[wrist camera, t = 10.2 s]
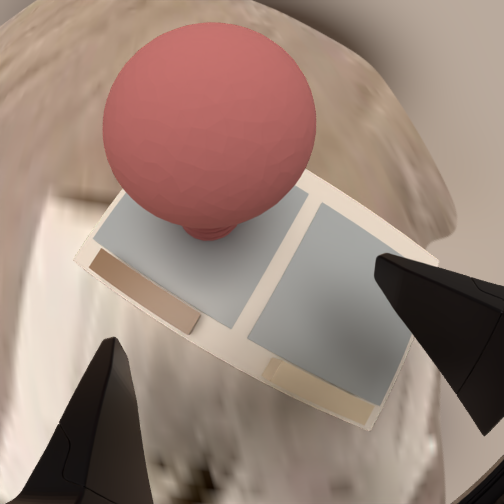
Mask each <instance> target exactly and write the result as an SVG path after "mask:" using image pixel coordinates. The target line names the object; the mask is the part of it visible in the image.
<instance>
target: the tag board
mask: <svg viewBox="0 0 504 504" xmlns="http://www.w3.org/2000/svg"><path fill="white" fill-rule="evenodd" d="M383 253H390V254H394V255H397V256H401V257H404V258H408V259H411V260H415V261H418V262H422V263H425V264H429V265H432V266H436V267H438V264H439V260H437V259H436V258H435V257H433V256H432V255H431V254H430V253H428V252H427V251H426V250H424V249H423V248H422V247H420V246H419V245H418V244H416V243H415V242H414V241H412V240H411V239H410V238H408V237H407V236H406V235H404V234H403V233H402V232H400V231H399V230H397V229H396V228H395V227H393V226H392V225H390V224H389V223H388V222H386V221H385V220H383V219H382V218H381V217H379V216H378V215H376V214H375V213H373V212H372V211H370V210H369V209H367V208H366V207H365V206H363V205H362V204H360V203H359V202H357V201H356V200H354V199H353V198H351V197H350V196H348V195H346V194H345V193H343V192H342V191H340V190H339V189H337V188H336V187H334V186H332V185H331V184H329V183H328V182H326V181H325V180H323V179H321V178H320V177H318V176H317V175H315V174H313V173H312V172H310V171H308V170H307V169H305V170H304V172H303V174H302V175H301V177H300V179H299V180H298V181H297V183H296V184H295V186H294V187H293V188H292V189H291V190H290V191H289V192H288V193H287V194H286V196H284V197H283V198H282V199H281V200H280V201H279V202H278V203H277V204H276V205H275V206H273V207H272V208H270V209H269V210H267V211H265V212H264V213H262V214H261V215H259V216H257V217H255V218H252V219H250V220H248V221H245V222H243V223H240V224H237V226H236V227H235V228H234V229H233V230H232V231H231V232H230V233H229V234H228V235H227V236H225V237H223V238H220V239H217V240H214V241H203V240H199V239H196V238H194V237H192V236H191V235H189V234H188V233H187V232H186V231H185V230H184V229H183V227H182V226H181V225H177V224H173V223H170V222H168V221H165V220H163V219H161V218H158V217H156V216H154V215H153V214H151V213H150V212H148V211H147V210H145V209H144V208H142V207H141V206H140V205H139V204H138V203H136V202H135V201H134V200H133V199H132V198H131V197H130V196H129V195H128V194H127V193H126V192H125V190H124V189H122V190H121V192H120V193H119V194H118V195H117V197H116V198H115V199H114V201H113V202H112V203H111V205H110V206H109V208H108V209H107V210H106V212H105V213H104V214H103V216H102V217H101V219H100V220H99V221H98V223H97V224H96V226H95V227H94V229H93V230H92V231H91V233H90V234H89V236H88V237H87V239H86V240H85V242H84V243H83V245H82V246H81V248H80V249H79V251H78V252H77V254H76V255H75V257H74V259H73V261H74V262H76V263H77V264H78V265H79V266H81V267H82V268H83V269H85V270H86V271H87V272H89V273H90V274H91V275H92V276H94V277H95V278H97V279H98V280H99V281H101V282H102V283H103V284H105V285H106V286H107V287H109V288H110V289H112V290H113V291H114V292H116V293H117V294H119V295H120V296H121V297H123V298H124V299H126V300H127V301H129V302H130V303H131V304H133V305H134V306H136V307H137V308H139V309H140V310H142V311H143V312H145V313H146V314H148V315H149V316H151V317H152V318H154V319H155V320H157V321H158V322H160V323H161V324H163V325H164V326H166V327H168V328H169V329H171V330H172V331H174V332H175V333H177V334H179V335H180V336H182V337H184V338H185V339H187V340H188V341H190V342H192V343H193V344H195V345H197V346H198V347H200V348H202V349H203V350H205V351H207V352H208V353H210V354H212V355H214V356H215V357H217V358H219V359H221V360H222V361H224V362H226V363H228V364H229V365H231V366H233V367H235V368H237V369H238V370H240V371H242V372H244V373H246V374H248V375H249V376H251V377H253V378H255V379H257V380H259V381H261V382H263V383H265V384H267V385H269V386H270V387H272V388H274V389H276V390H278V391H280V392H282V393H284V394H286V395H288V396H291V397H293V398H295V399H297V400H299V401H301V402H303V403H305V404H307V405H309V406H312V407H314V408H316V409H318V410H320V411H323V412H325V413H327V414H329V415H332V416H334V417H336V418H338V419H341V420H343V421H345V422H348V423H350V424H353V425H355V426H357V427H360V428H362V429H365V430H367V431H371V429H372V427H373V426H374V424H375V422H376V420H377V418H378V416H379V414H380V412H381V410H382V408H383V406H384V404H385V402H386V400H387V398H388V396H389V394H390V392H391V390H392V388H393V386H394V384H395V382H396V379H397V377H398V375H399V373H400V370H401V368H402V366H403V364H404V361H405V359H406V356H407V354H408V352H409V349H410V347H411V344H412V342H413V339H414V335H413V334H412V333H411V331H410V330H409V329H408V328H407V326H406V325H405V324H404V322H403V321H402V320H401V319H400V317H399V316H398V315H397V313H396V312H395V310H394V309H393V307H392V306H391V304H390V303H389V301H388V300H387V298H386V297H385V295H384V293H383V292H382V290H381V289H380V287H379V286H378V284H377V283H376V281H375V279H374V269H375V261H376V257H377V256H378V255H381V254H383Z"/></svg>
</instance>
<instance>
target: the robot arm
mask: <svg viewBox="0 0 504 504" xmlns="http://www.w3.org/2000/svg"><path fill="white" fill-rule="evenodd" d="M374 279H375V281H376V283H377V284H378V286H379V287H380V289H381V290H382V292H383V293H384V295H385V297H386V298H387V300H388V301H389V303H390V304H391V306H392V307H393V309H394V310H395V312H396V313H397V315H398V316H399V317H400V319H401V320H402V321H403V322H404V324H405V325H406V326H407V328H408V329H409V330H410V331H411V333H412V334H413V335H414V337H415V338H416V339H417V341H418V342H419V343H420V345H421V346H422V347H423V349H424V350H425V351H426V353H427V354H428V355H429V357H430V358H431V360H432V361H433V362H434V364H435V365H436V366H437V368H438V369H439V371H440V372H441V373H442V375H443V376H444V378H445V379H446V381H447V382H448V383H449V385H450V386H451V388H452V389H453V391H454V392H455V393H456V394H457V397H458V398H459V400H460V401H461V403H462V404H463V406H464V407H465V409H466V410H467V412H468V413H469V414H470V416H471V418H472V419H473V421H474V422H475V424H476V425H477V427H478V429H479V430H480V432H481V433H482V435H483V436H485V435H487V434H488V433H489V432H490V431H491V430H492V429H493V428H494V427H495V426H496V425H497V424H498V422H500V420H501V419H502V418H503V417H504V286H501V285H496V284H493V283H489V282H486V281H482V280H479V279H476V278H472V277H471V278H470V277H469V276H466V275H463V274H459V273H456V272H452V271H449V270H446V269H442V268H439V267H436V266H432V265H429V264H425V263H422V262H418V261H415V260H411V259H408V258H404V257H401V256H397V255H394V254H390V253H383V254H381V255H378V256H377V257H376V261H375V269H374ZM6 504H154V503H153V498H152V494H151V489H150V484H149V479H148V474H147V468H146V462H145V456H144V450H143V444H142V437H141V430H140V422H139V414H138V406H137V400H136V395H135V391H134V386H133V382H132V377H131V372H130V367H129V361H128V358H127V355H126V353H125V351H124V350H123V348H122V346H121V344H120V342H119V341H118V339H117V338H116V337H111V338H107V339H104V340H103V341H102V343H101V344H100V346H99V348H98V350H97V351H96V353H95V355H94V357H93V359H92V360H91V362H90V364H89V366H88V368H87V369H86V371H85V373H84V375H83V377H82V379H81V380H80V382H79V384H78V386H77V388H76V390H75V392H74V394H73V396H72V398H71V399H70V401H69V403H68V405H67V407H66V409H65V411H64V413H63V415H62V417H61V419H60V421H59V424H58V425H57V427H56V429H55V432H54V434H53V436H52V438H51V440H50V441H49V443H48V446H47V447H46V449H45V451H44V453H43V455H42V456H41V458H40V460H39V462H38V463H37V465H36V467H35V469H34V470H33V472H32V474H31V476H30V477H29V479H28V481H27V483H26V485H25V486H24V488H23V490H22V491H21V492H20V494H19V495H18V496H17V497H16V498H14V499H13V500H12V501H10V502H8V503H6ZM451 504H504V455H503V456H502V457H501V458H500V459H499V460H498V461H497V462H496V463H495V464H494V465H493V466H492V467H491V468H490V469H489V470H488V471H487V472H486V473H485V474H484V475H483V476H482V477H481V478H480V479H479V480H478V481H477V482H476V483H475V484H473V485H472V486H471V487H470V488H469V489H468V490H467V491H465V492H464V493H463V494H462V495H461V496H460V497H458V498H457V499H456V500H455V501H454V502H452V503H451Z"/></svg>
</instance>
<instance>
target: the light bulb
mask: <svg viewBox="0 0 504 504" xmlns="http://www.w3.org/2000/svg"><path fill="white" fill-rule="evenodd" d="M315 135H316V111H315V105H314V100H313V96H312V93H311V90H310V87H309V85H308V83H307V80H306V78H305V76H304V74H303V73H302V71H301V70H300V68H299V67H298V65H297V64H296V62H295V61H294V60H293V58H292V57H291V56H290V55H289V54H288V53H287V52H286V51H285V50H284V49H283V48H281V47H280V46H279V45H277V44H276V43H274V42H273V41H272V40H270V39H269V38H267V37H265V36H264V35H262V34H260V33H257V32H255V31H253V30H250V29H248V28H245V27H241V26H237V25H233V24H226V23H198V24H192V25H187V26H183V27H180V28H177V29H174V30H172V31H169V32H166V33H164V34H162V35H160V36H158V37H157V38H155V39H153V40H152V41H151V42H149V43H148V44H146V45H145V46H144V47H142V48H141V49H140V50H138V52H137V53H136V54H135V55H134V56H133V57H132V58H131V59H130V60H129V61H128V62H127V63H126V64H125V66H124V67H123V68H122V70H121V71H120V73H119V74H118V76H117V78H116V80H115V81H114V83H113V85H112V87H111V90H110V93H109V95H108V98H107V101H106V105H105V109H104V117H103V141H104V148H105V152H106V156H107V159H108V162H109V164H110V167H111V169H112V171H113V174H114V175H115V177H116V179H117V180H118V182H119V184H120V185H121V186H122V188H123V189H124V190H125V192H126V193H127V194H128V195H129V196H130V197H131V198H132V199H133V200H134V201H135V202H136V203H138V204H139V205H140V206H141V207H142V208H144V209H145V210H147V211H148V212H150V213H151V214H153V215H154V216H156V217H158V218H161V219H163V220H165V221H168V222H170V223H173V224H177V225H181V226H182V227H183V229H184V230H185V231H186V232H187V233H188V234H189V235H191V236H192V237H194V238H196V239H199V240H203V241H214V240H217V239H220V238H223V237H225V236H227V235H228V234H229V233H230V232H231V231H232V230H233V229H234V228H235V227H236V226H237V224H240V223H243V222H245V221H248V220H250V219H252V218H255V217H257V216H259V215H261V214H262V213H264V212H265V211H267V210H269V209H270V208H272V207H273V206H275V205H276V204H277V203H278V202H279V201H280V200H281V199H282V198H283V197H284V196H286V194H287V193H288V192H289V191H290V190H291V189H292V188H293V187H294V186H295V184H296V183H297V181H298V180H299V179H300V177H301V175H302V174H303V172H304V170H305V168H306V166H307V164H308V161H309V159H310V156H311V153H312V150H313V146H314V141H315Z"/></svg>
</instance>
